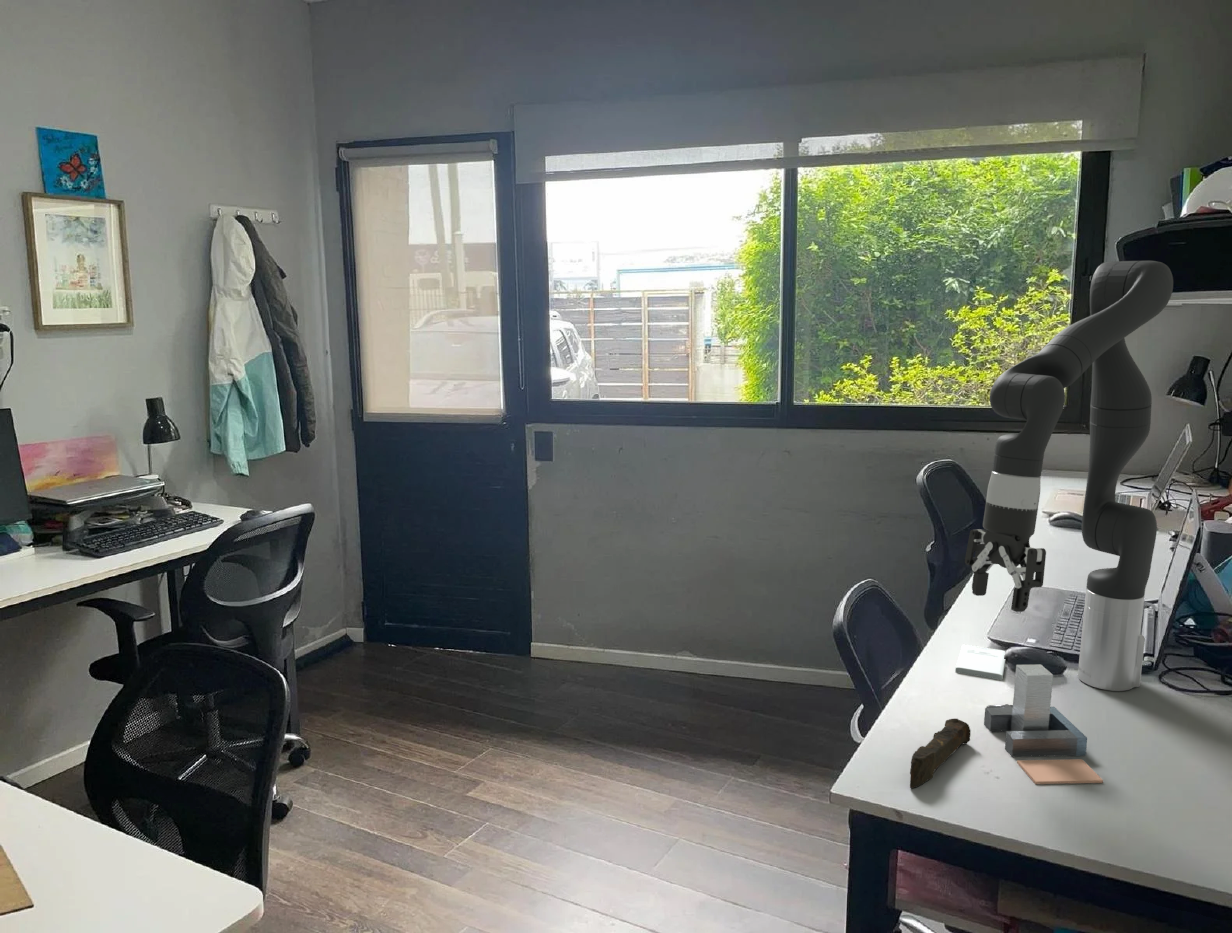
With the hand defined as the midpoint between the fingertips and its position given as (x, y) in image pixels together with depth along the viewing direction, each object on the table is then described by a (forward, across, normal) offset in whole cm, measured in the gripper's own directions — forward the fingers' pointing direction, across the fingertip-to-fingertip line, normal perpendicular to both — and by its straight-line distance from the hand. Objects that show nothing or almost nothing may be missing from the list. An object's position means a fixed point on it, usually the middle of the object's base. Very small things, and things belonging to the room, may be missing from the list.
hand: (997, 602), depth 145 cm
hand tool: (+24, -5, +12) cm, 27 cm away
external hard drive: (+21, +23, -20) cm, 37 cm away
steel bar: (+22, -4, -6) cm, 23 cm away
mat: (+22, -13, -3) cm, 26 cm away
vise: (+22, -2, -8) cm, 23 cm away
